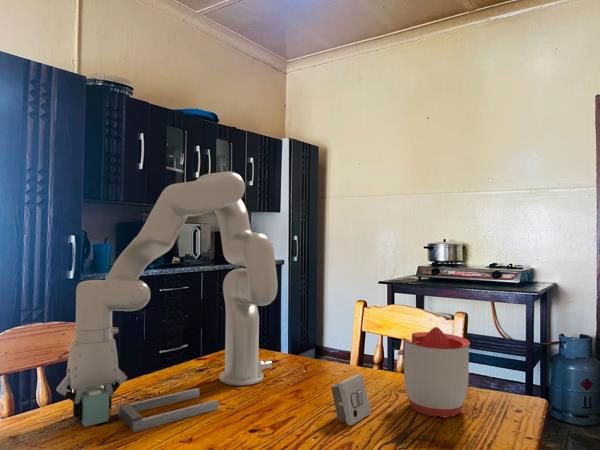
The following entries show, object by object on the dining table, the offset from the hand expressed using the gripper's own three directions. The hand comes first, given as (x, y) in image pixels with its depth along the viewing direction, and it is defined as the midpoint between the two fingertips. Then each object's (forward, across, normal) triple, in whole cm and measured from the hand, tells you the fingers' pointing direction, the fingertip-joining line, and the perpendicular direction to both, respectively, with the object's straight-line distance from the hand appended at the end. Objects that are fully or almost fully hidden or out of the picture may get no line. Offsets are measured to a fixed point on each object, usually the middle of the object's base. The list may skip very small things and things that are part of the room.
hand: (92, 415), depth 101 cm
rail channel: (+1, -15, +7) cm, 17 cm away
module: (+1, 0, 0) cm, 1 cm away
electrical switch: (+1, -47, +35) cm, 59 cm away
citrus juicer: (+1, -67, +43) cm, 80 cm away
